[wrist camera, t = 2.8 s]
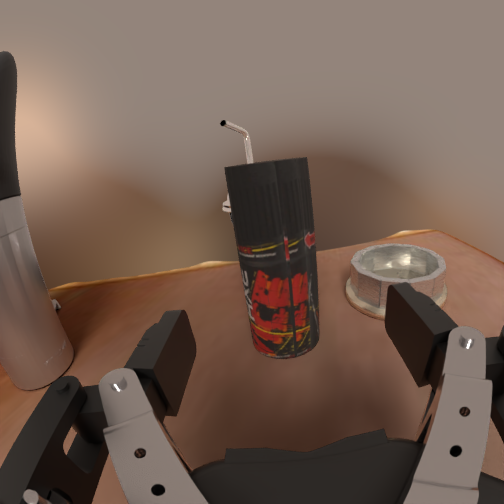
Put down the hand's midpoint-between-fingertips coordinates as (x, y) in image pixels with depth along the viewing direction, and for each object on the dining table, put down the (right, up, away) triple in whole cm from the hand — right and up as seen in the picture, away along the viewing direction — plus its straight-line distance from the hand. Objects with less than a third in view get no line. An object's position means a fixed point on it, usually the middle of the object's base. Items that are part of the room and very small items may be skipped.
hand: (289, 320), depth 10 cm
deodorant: (+2, -5, +14) cm, 15 cm away
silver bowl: (+15, -2, +17) cm, 23 cm away
